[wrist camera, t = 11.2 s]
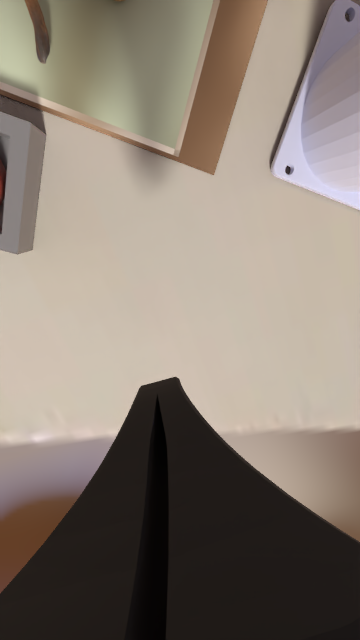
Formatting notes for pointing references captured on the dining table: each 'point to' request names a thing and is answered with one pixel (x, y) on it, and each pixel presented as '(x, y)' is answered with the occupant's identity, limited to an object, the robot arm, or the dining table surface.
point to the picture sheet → (136, 68)
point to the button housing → (20, 182)
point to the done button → (2, 182)
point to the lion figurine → (40, 30)
